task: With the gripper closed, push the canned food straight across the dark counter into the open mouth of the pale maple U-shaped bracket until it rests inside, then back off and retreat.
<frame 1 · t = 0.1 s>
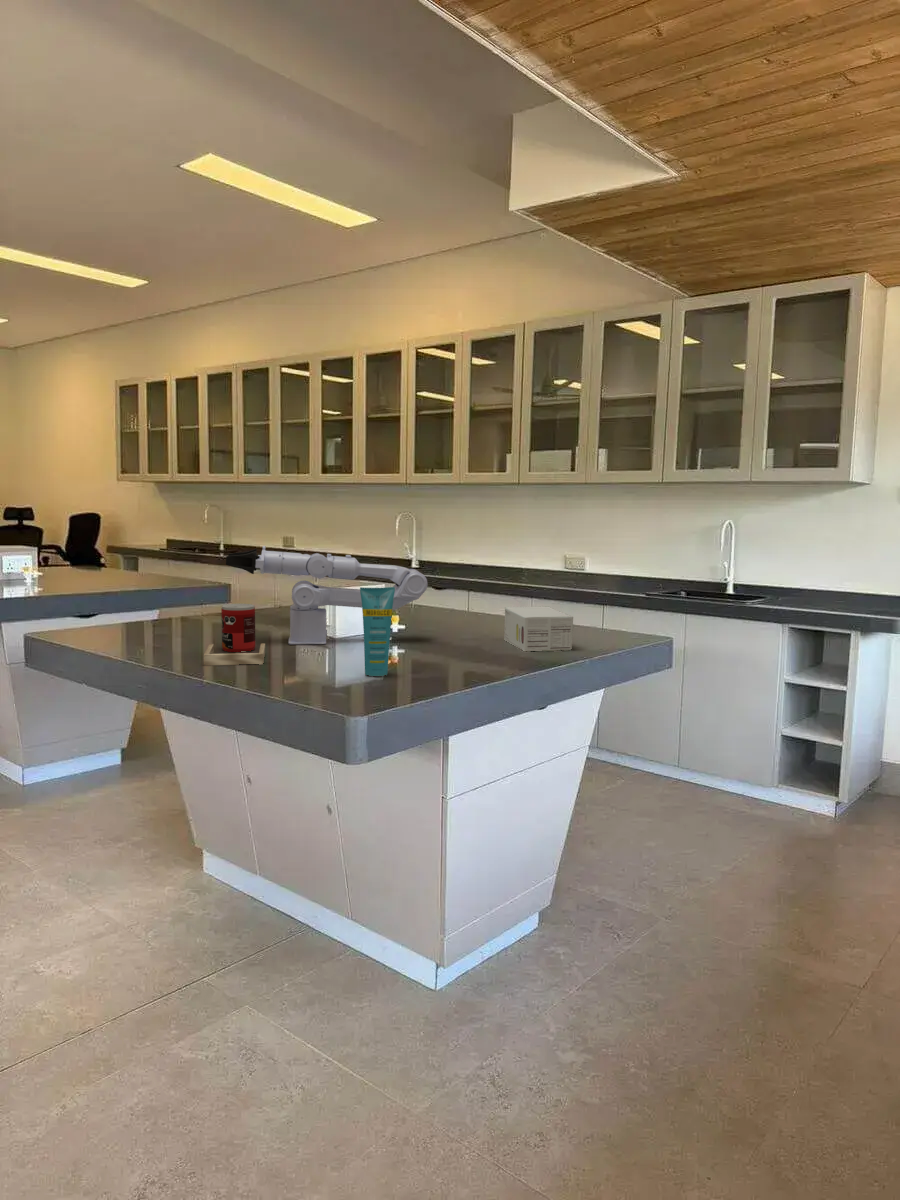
hand: (227, 559, 214), 22 cm above the counter, tool horizontal, fingers open, 7 cm apart
canned food: (238, 650, 209), on the counter
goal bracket: (235, 658, 198), on the counter
tube: (376, 675, 184), on the counter
supplement box: (536, 647, 223), on the counter
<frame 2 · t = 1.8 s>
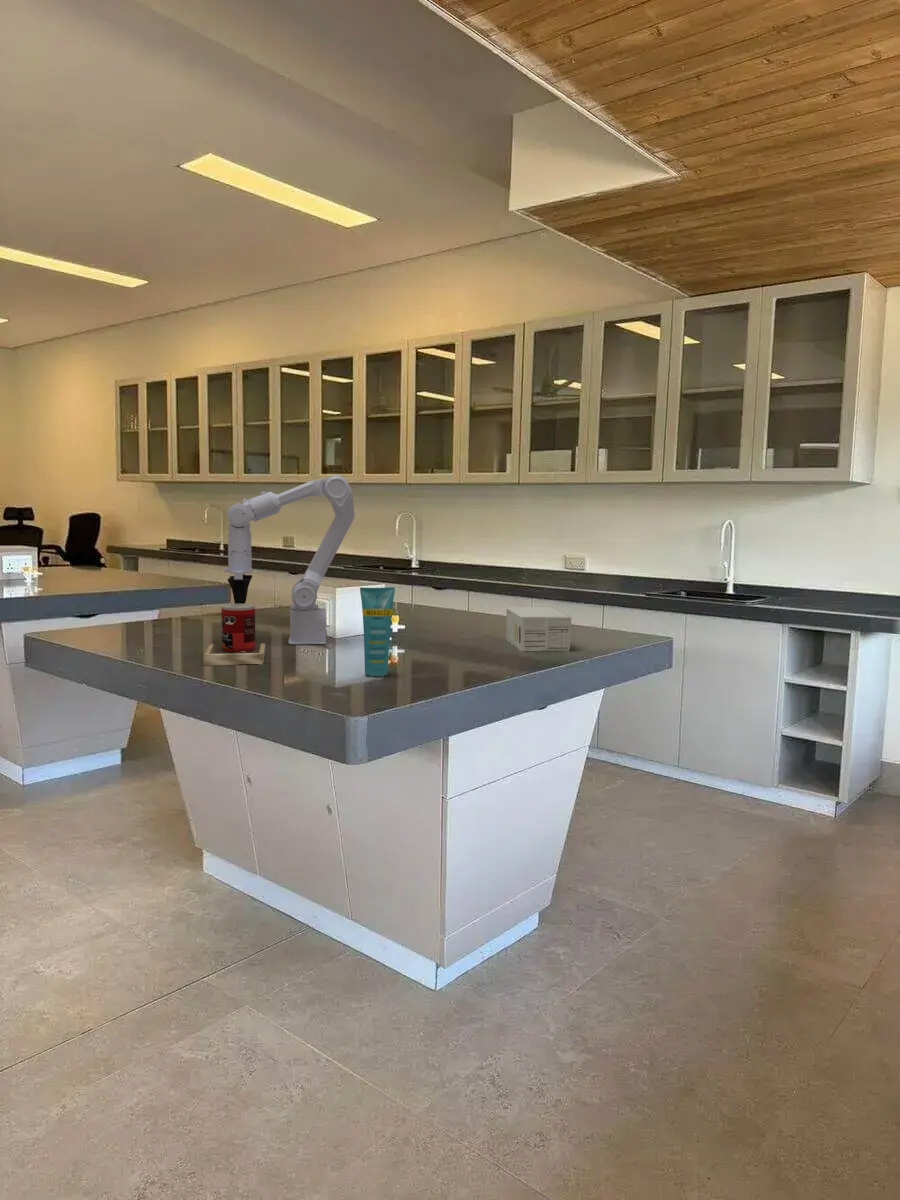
hand: (240, 604, 217), 10 cm above the counter, tool pointing down, fingers open, 5 cm apart
nothing on the counter moved.
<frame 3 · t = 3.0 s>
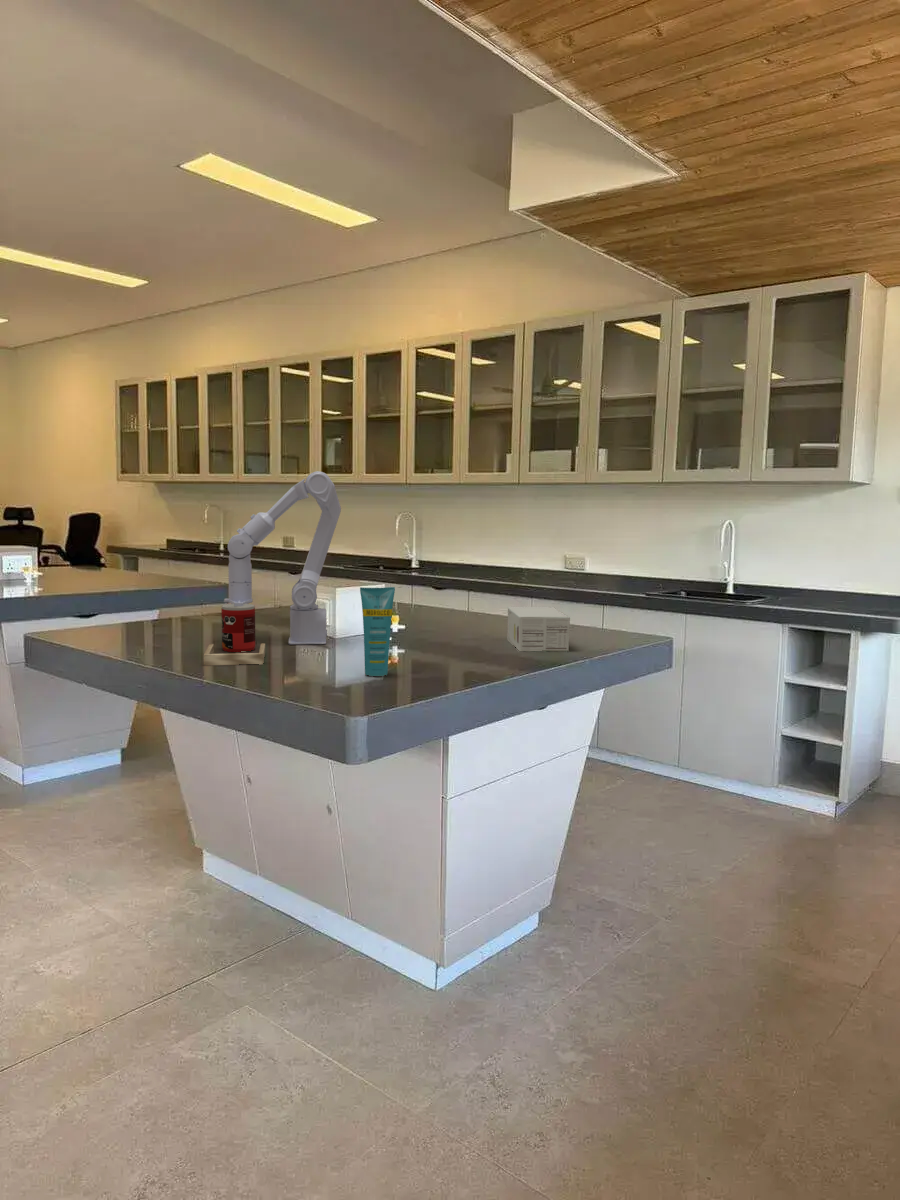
hand: (240, 634, 218), 2 cm above the counter, tool pointing down, fingers closed
nothing on the counter moved.
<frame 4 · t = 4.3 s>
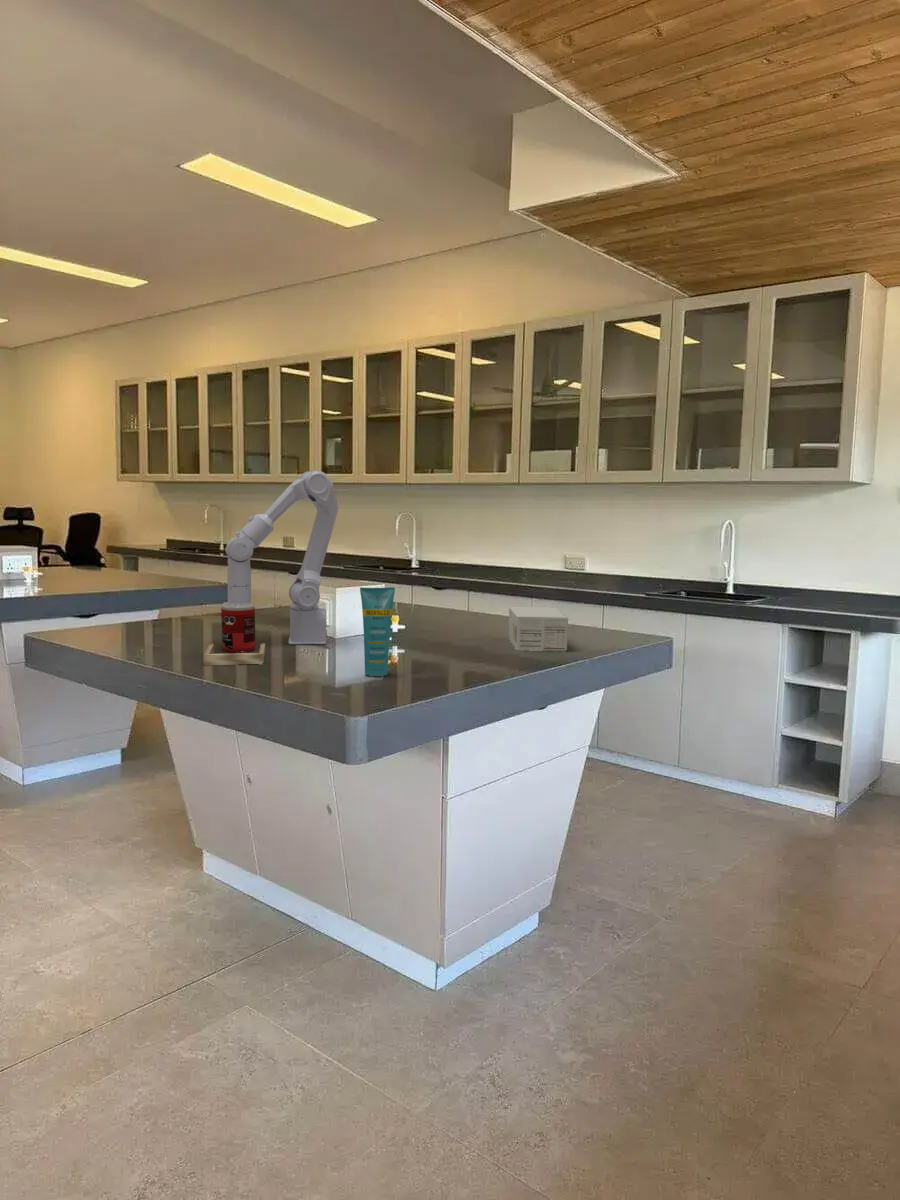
hand: (239, 638, 215), 2 cm above the counter, tool pointing down, fingers closed
canned food: (238, 650, 209), on the counter, touching gripper
everything else where it was.
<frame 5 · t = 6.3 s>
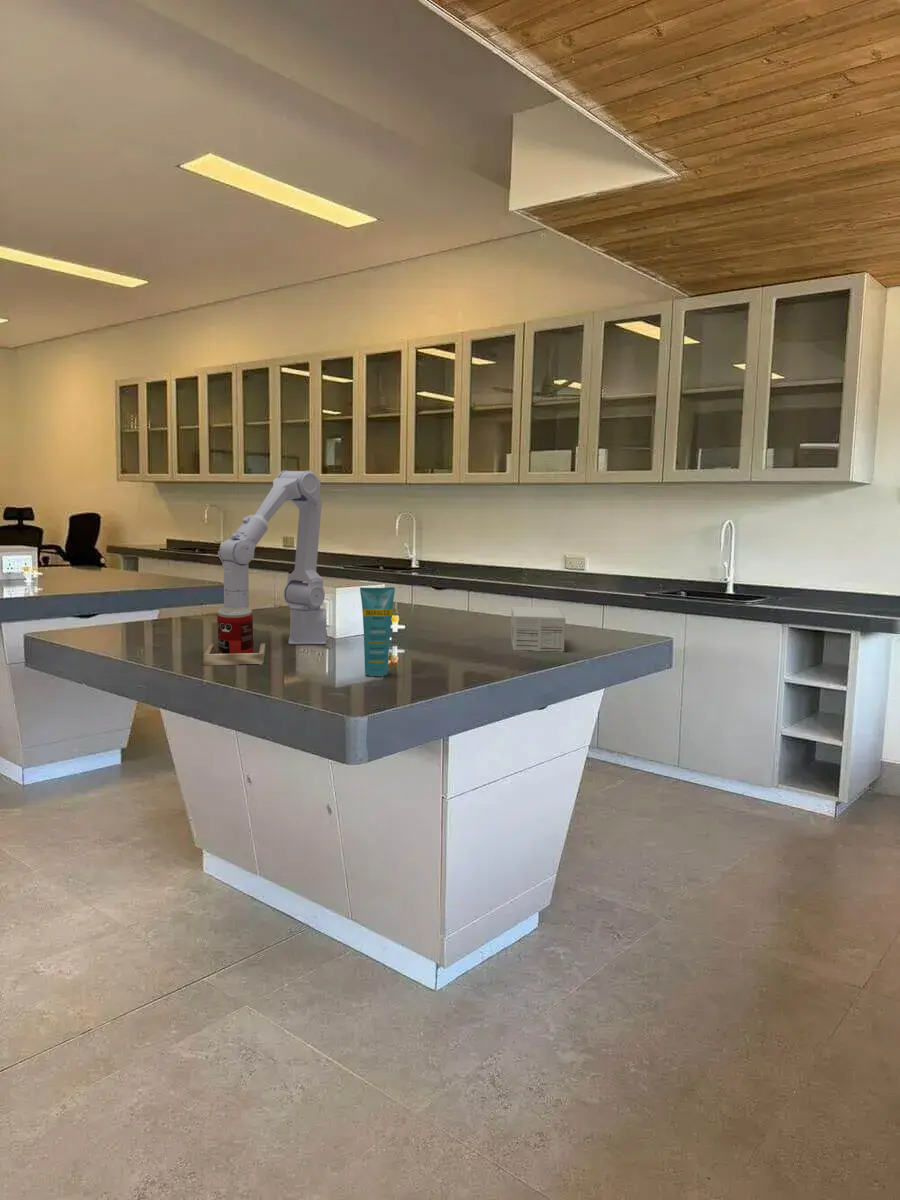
hand: (236, 646, 204), 2 cm above the counter, tool pointing down, fingers closed, pressing on canned food
canned food: (236, 656, 200), on the counter, touching gripper
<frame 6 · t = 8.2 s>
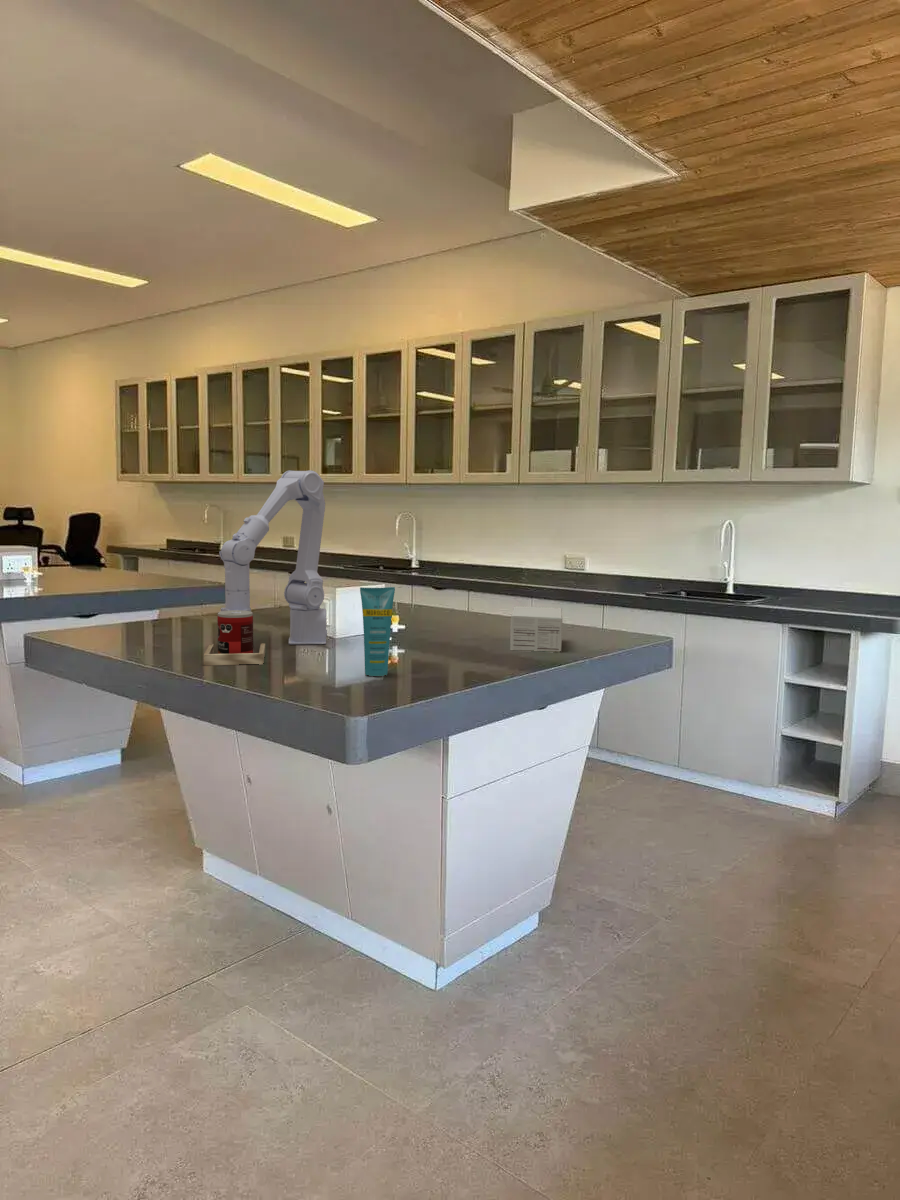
hand: (238, 645, 206), 2 cm above the counter, tool pointing down, fingers closed
canned food: (235, 660, 198), on the counter
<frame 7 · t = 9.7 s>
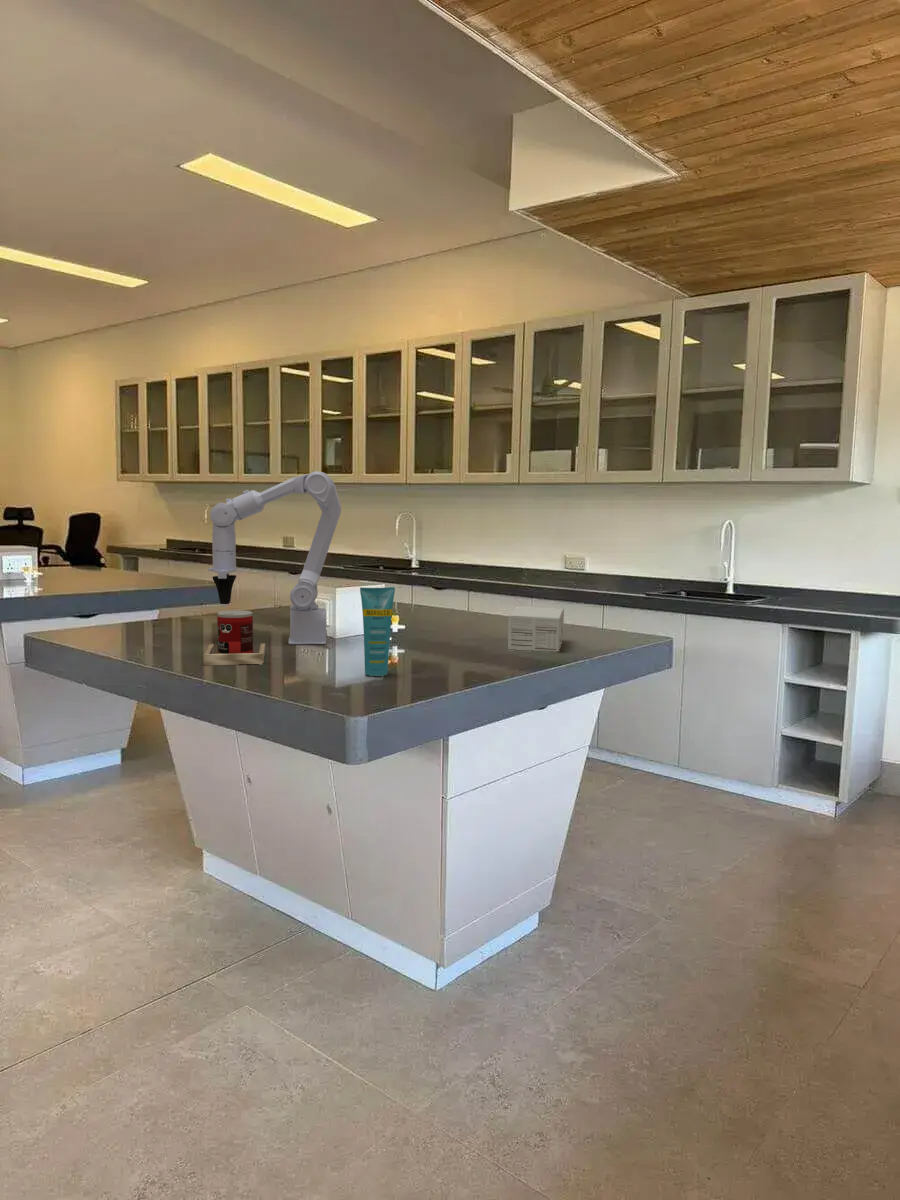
hand: (224, 603, 218), 10 cm above the counter, tool pointing down, fingers closed
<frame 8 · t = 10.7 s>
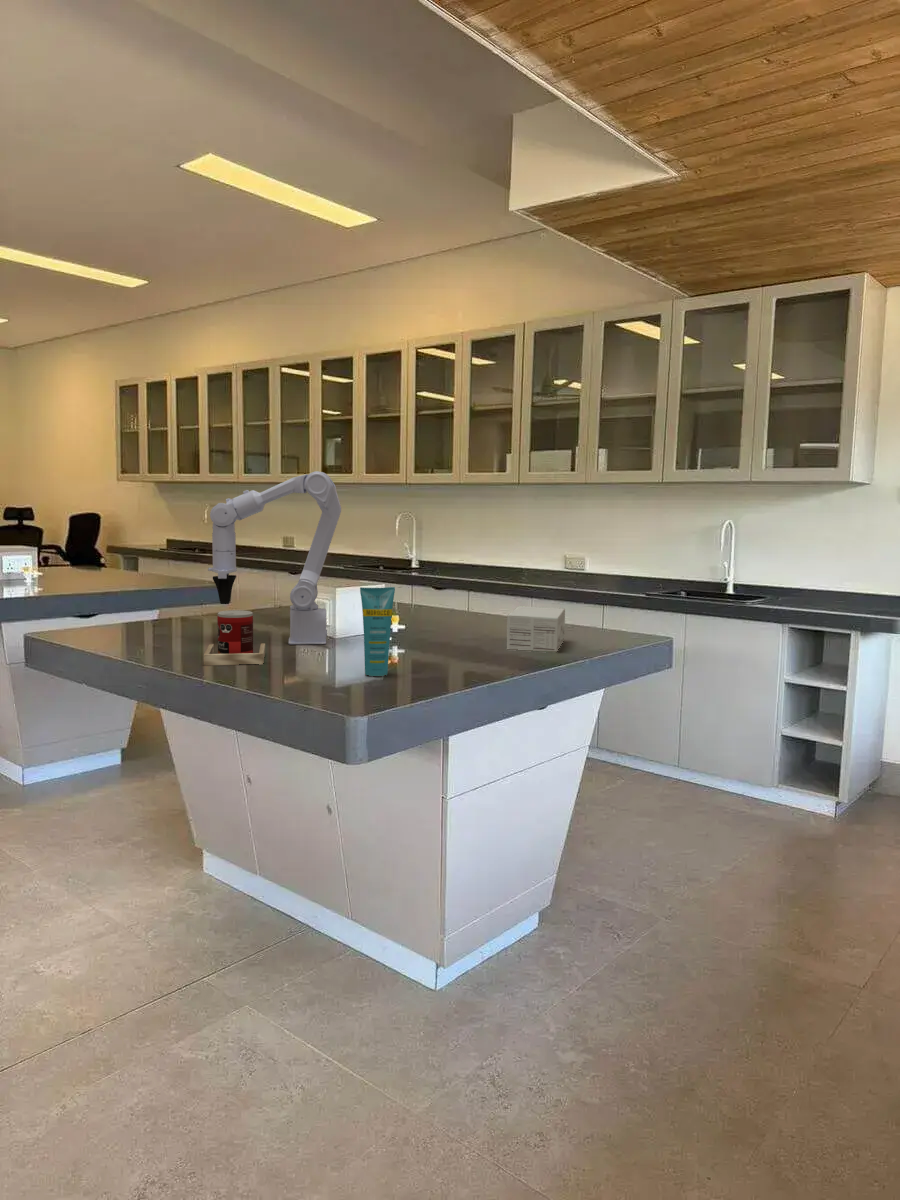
hand: (224, 603, 218), 10 cm above the counter, tool pointing down, fingers closed
at the end: canned food inside the target area on the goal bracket (0.2 cm from its centre), point 0.0 cm above the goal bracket's base; canned food tilted 0° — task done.
